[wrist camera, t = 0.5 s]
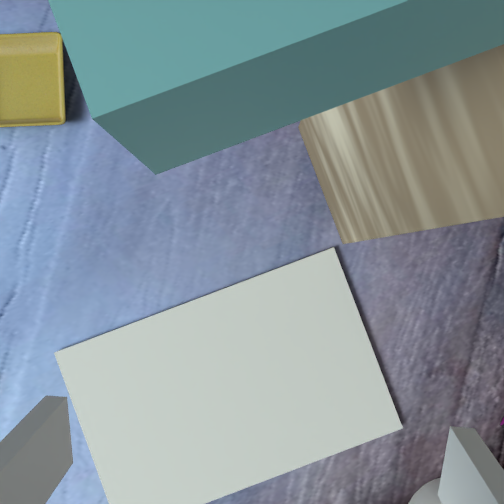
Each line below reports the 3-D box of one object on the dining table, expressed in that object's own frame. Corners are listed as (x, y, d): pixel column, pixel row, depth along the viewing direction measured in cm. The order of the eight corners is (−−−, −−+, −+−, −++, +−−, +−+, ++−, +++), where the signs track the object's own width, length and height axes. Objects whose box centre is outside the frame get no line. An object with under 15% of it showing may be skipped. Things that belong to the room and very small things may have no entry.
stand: (339, 250, 37) (619, 223, 9) (291, 124, 37) (413, -296, 9) (486, 195, 37) (1225, -7, 9) (437, 69, 37) (1004, -514, 9)
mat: (122, 530, 36) (120, 535, 36) (57, 351, 37) (54, 352, 36) (400, 425, 36) (402, 428, 36) (332, 247, 37) (333, 247, 36)
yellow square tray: (75, 131, 37) (64, 124, 35) (-14, 135, 37) (-29, 128, 35) (72, 44, 38) (62, 31, 36) (-16, 47, 38) (-32, 35, 36)
